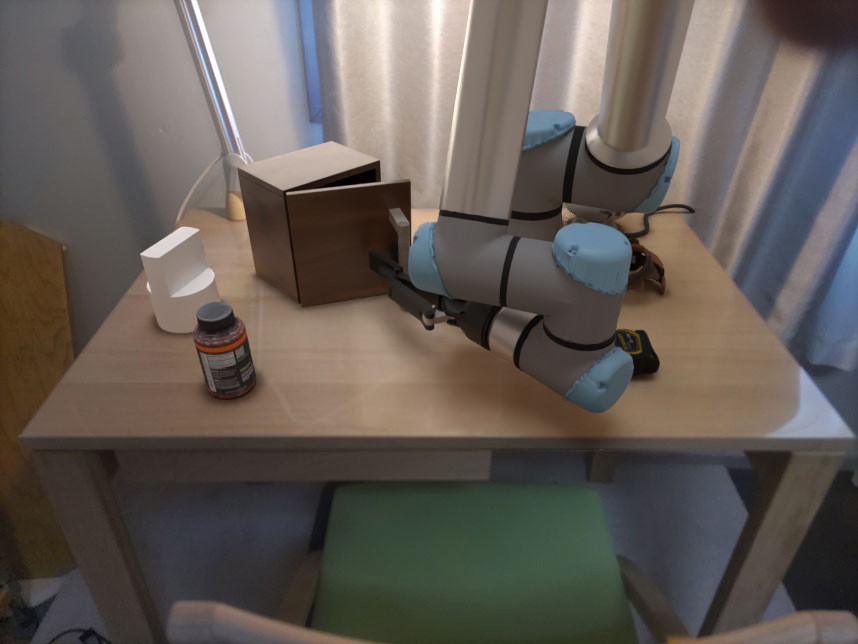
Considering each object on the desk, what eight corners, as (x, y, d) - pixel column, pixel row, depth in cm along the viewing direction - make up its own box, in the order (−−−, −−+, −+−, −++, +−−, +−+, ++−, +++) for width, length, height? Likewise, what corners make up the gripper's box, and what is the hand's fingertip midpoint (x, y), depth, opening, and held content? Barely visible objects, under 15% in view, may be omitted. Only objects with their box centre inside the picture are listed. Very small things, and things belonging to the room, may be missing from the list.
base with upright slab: (197, 338, 83) (177, 262, 76) (143, 326, 85) (119, 251, 78) (234, 305, 90) (219, 232, 83) (184, 294, 92) (165, 222, 85)
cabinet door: (423, 309, 89) (423, 197, 79) (307, 329, 85) (291, 213, 74) (410, 286, 94) (409, 178, 84) (300, 303, 90) (285, 192, 80)
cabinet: (384, 265, 100) (380, 159, 90) (298, 304, 90) (282, 190, 80) (340, 241, 107) (331, 140, 97) (256, 274, 97) (236, 167, 87)
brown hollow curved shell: (675, 307, 91) (663, 272, 85) (612, 323, 95) (597, 290, 89) (661, 253, 99) (649, 217, 93) (603, 269, 102) (589, 236, 97)
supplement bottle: (216, 369, 78) (197, 295, 71) (262, 370, 77) (247, 296, 71) (200, 400, 73) (178, 324, 66) (249, 402, 73) (232, 325, 66)
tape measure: (657, 382, 76) (664, 359, 74) (602, 380, 76) (607, 356, 74) (643, 349, 82) (649, 326, 80) (593, 347, 82) (597, 324, 80)
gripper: (457, 379, 70) (337, 298, 84) (545, 324, 79) (424, 259, 93) (459, 326, 65) (332, 250, 79) (552, 274, 75) (424, 214, 89)
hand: (382, 255), depth 86 cm, fingers open, 3 cm apart
